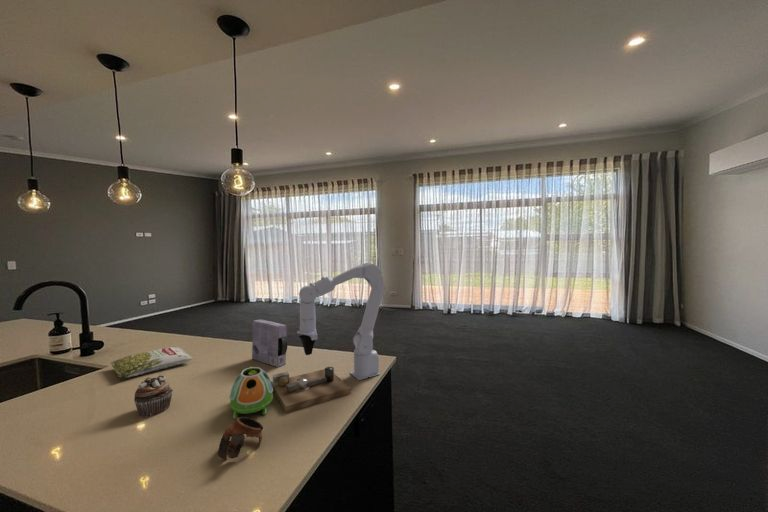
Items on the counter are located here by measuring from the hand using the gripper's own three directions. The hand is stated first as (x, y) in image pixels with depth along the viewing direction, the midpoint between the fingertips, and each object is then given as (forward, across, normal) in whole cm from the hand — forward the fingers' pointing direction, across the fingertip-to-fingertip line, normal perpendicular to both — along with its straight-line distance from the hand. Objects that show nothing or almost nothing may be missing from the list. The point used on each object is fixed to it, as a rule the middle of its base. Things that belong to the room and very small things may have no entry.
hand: (308, 354), depth 112 cm
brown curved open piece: (+11, +28, -27) cm, 41 cm away
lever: (+8, +8, -2) cm, 11 cm away
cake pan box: (+11, -29, -8) cm, 32 cm away
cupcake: (+11, -8, -47) cm, 49 cm away
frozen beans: (+11, -52, -51) cm, 74 cm away
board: (+10, +7, -2) cm, 13 cm away
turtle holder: (+10, +7, -21) cm, 25 cm away
